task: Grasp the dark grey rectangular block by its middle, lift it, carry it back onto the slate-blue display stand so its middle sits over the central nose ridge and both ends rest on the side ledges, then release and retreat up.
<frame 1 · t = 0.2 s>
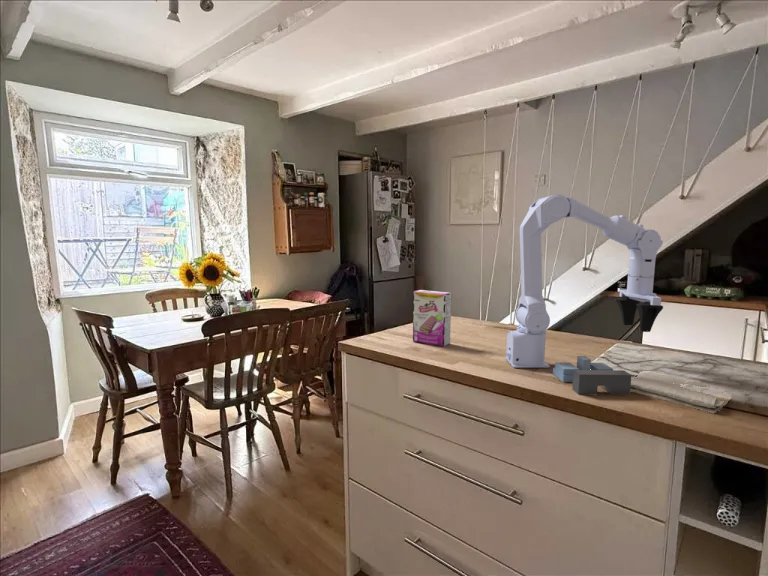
hand: (636, 328, 110), 10 cm above the countertop, fingers open, 7 cm apart
candy bar box: (431, 343, 133), on the countertop
dark grey rectangular block: (600, 392, 92), on the countertop
washcloth: (674, 397, 91), on the countertop
display stand: (582, 377, 101), on the countertop
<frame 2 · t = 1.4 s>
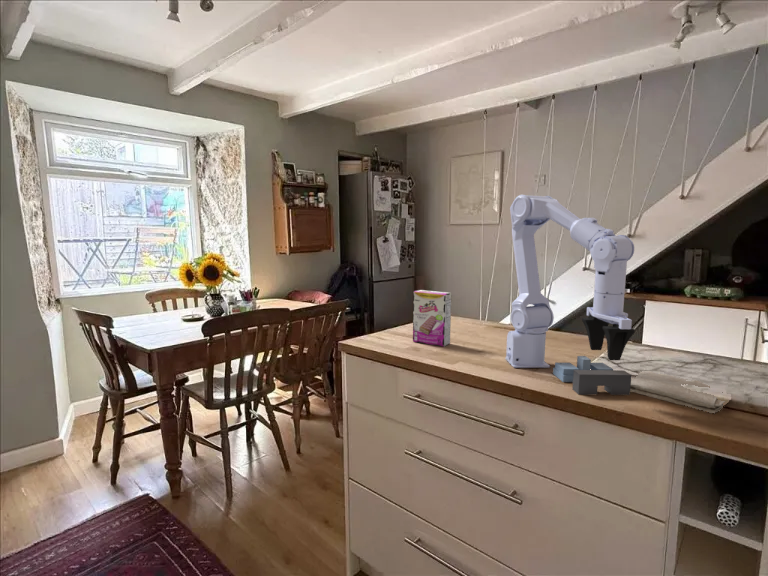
hand: (604, 354, 91), 8 cm above the countertop, fingers open, 7 cm apart
nothing on the countertop moved.
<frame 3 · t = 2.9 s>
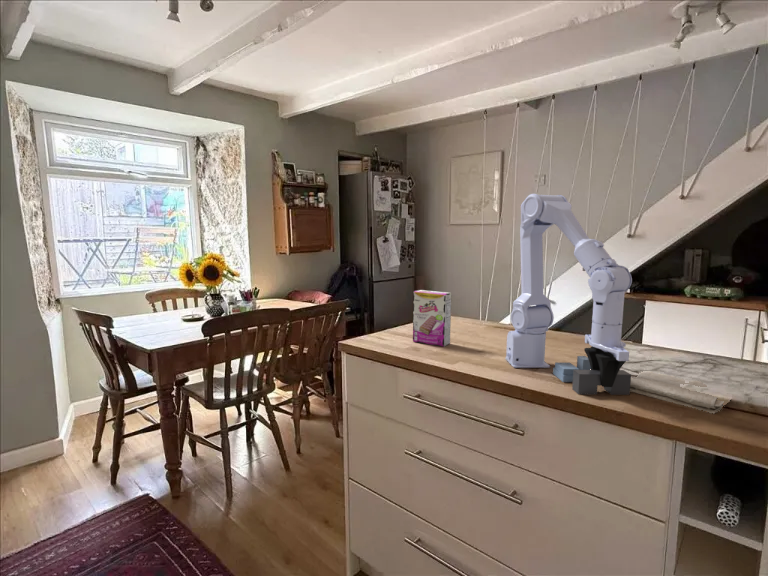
hand: (602, 383, 92), 2 cm above the countertop, fingers closed on dark grey rectangular block, 3 cm apart
dark grey rectangular block: (600, 391, 92), on the countertop, touching gripper
everything else where it was.
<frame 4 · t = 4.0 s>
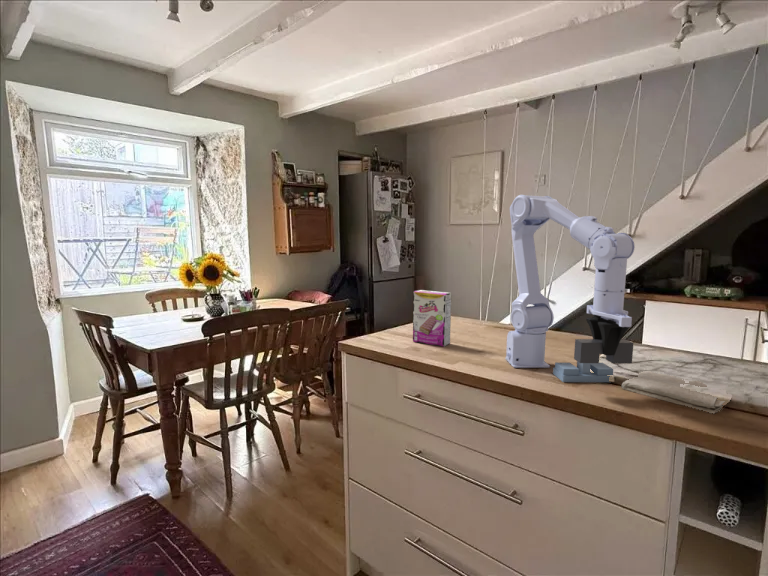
hand: (604, 352, 91), 9 cm above the countertop, fingers closed on dark grey rectangular block, 3 cm apart
dark grey rectangular block: (602, 361, 91), point 7 cm above the countertop, touching gripper
everything else where it was.
when the fingers open (6 cm above the countertop, at t = 5.6 s): dark grey rectangular block stays where it is, resting on display stand.
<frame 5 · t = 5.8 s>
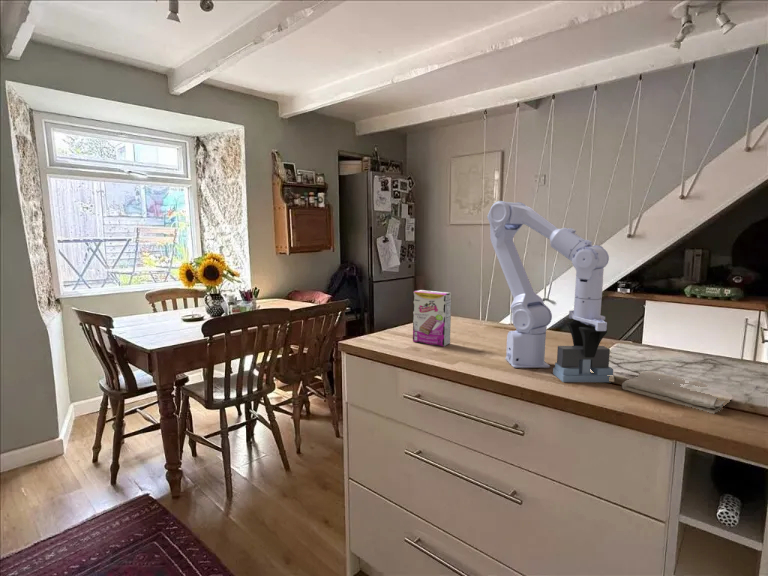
hand: (584, 353, 100), 6 cm above the countertop, fingers open, 4 cm apart
dark grey rectangular block: (582, 365, 101), point 3 cm above the countertop, touching display stand
everything else where it was.
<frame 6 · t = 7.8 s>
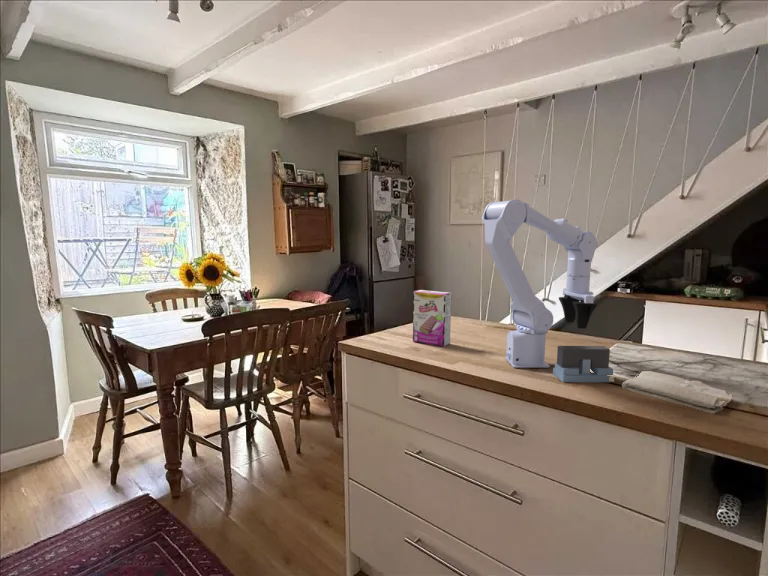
hand: (575, 325, 115), 9 cm above the countertop, fingers open, 7 cm apart
nothing on the countertop moved.
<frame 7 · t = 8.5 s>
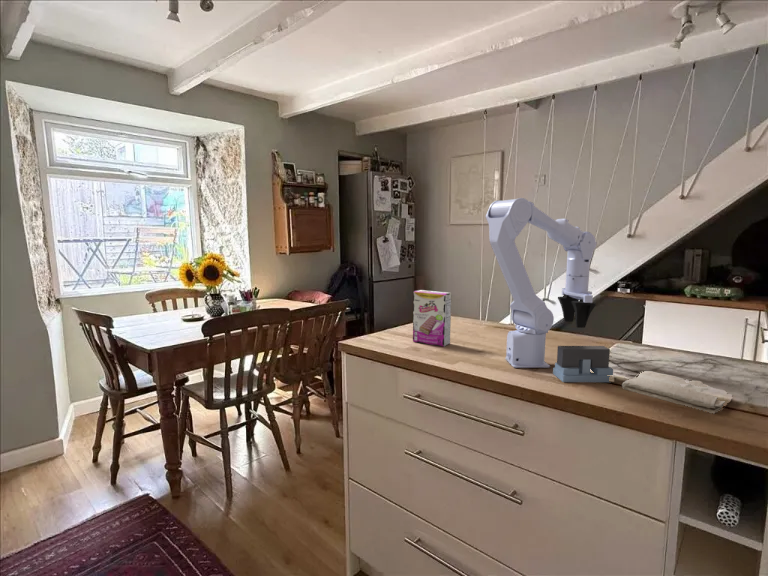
hand: (574, 324, 117), 9 cm above the countertop, fingers open, 7 cm apart
nothing on the countertop moved.
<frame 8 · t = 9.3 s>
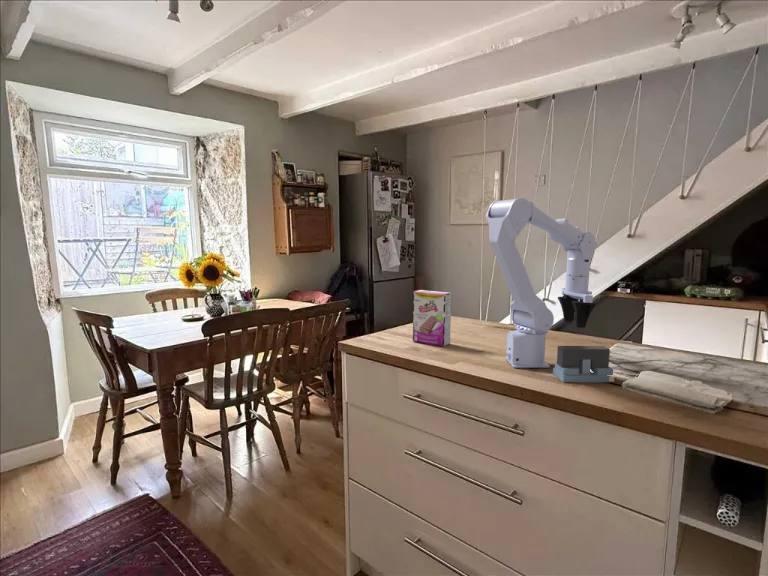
hand: (574, 324, 117), 9 cm above the countertop, fingers open, 7 cm apart
nothing on the countertop moved.
at the end: dark grey rectangular block 0.3 cm off-centre on the display stand, point 3.0 cm above the display stand's base; dark grey rectangular block tilted 0°; the gripper is holding nothing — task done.
